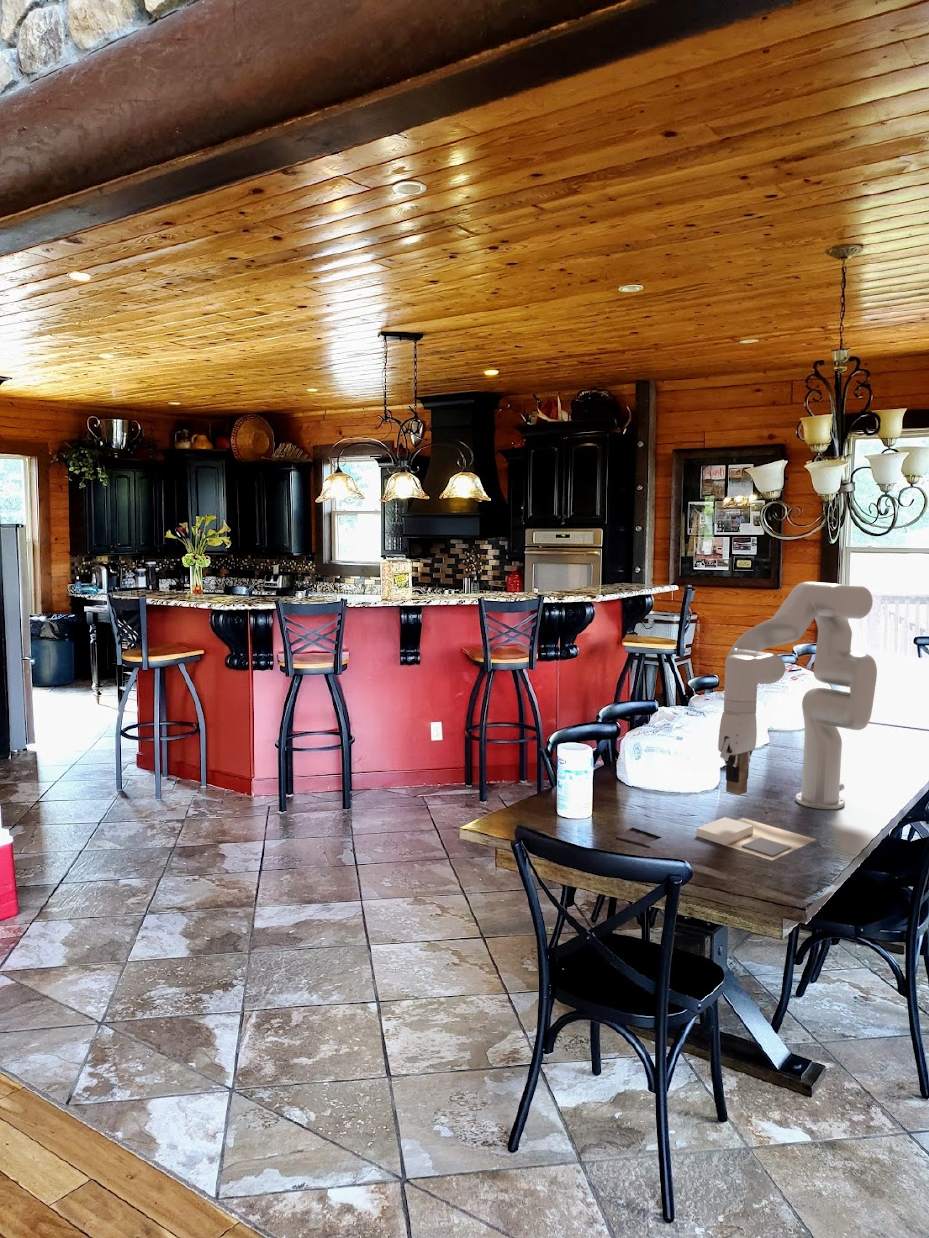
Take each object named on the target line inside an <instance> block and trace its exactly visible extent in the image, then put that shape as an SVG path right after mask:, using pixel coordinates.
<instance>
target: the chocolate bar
mask: <svg viewBox="0 0 929 1238" xmlns="http://www.w3.org/2000/svg"><path fill="white" fill-rule="evenodd" d="M662 838H663V837H662V836H659V835H656V834H653V833H650V832H648V831H645V830H641V829H638V828H636V827H630V828H629V829H627V830H625V831H624V832H621V833H620V834H618V835H617V836H615V840H618V841H623V842H627V843H629V844H633V843H634V845H638V846H641V845H642V847H645V846H646V848H649V847H650V848H651V846H649V845H646V844H648V843H651V842H654V841H657V840H659V839H662Z"/></svg>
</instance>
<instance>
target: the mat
mask: <svg viewBox="0 0 929 1238" xmlns="http://www.w3.org/2000/svg"><path fill="white" fill-rule="evenodd" d="M742 847H743V848H746V849H749V850H752V851H756V852H759V853H762V854H765V855H768V856H771V857H774V856H776V855H778V854H780V853H782V852H785V851H787V850H789V849H791V847H790V846H787V845H784V844H780V843H777V842H774V841H771V840H767V839H764V838H761V837H760V838H758V839H755V840H753V841H751V842H749V843H746V844H744V845H742Z"/></svg>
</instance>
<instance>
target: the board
mask: <svg viewBox="0 0 929 1238" xmlns="http://www.w3.org/2000/svg"><path fill="white" fill-rule="evenodd" d="M735 820H736V819H735ZM736 821H740V822H743V823H746V824H750V825H753V834H751V835H749V836H746V837H744V838H742V839H739V840H737V841H734V842H732V843H730V844H727V845H724V846H726V847H729V848H731V849H735V850H737V851H741V852H743V853H747V854H750V855H753V856H757V857H759V858H762V859H765V860H768V861H775V860H777V859H779V858H781V857H783V856H785V855H787V854H789V853H791V852H792V853H793V852H794V851H795V850H797V849H801V848H802V847H804V846H806V845H809V844H811V843H812V842H814V841H817V839H816V838H813V837H810V836H806V835H802V834H799V833H796V832H792V831H789V830H786V829H783V828H779V827H775V826H772V825H768V824H765V823H762V822H758V821H756V820H755V821H754V820H751V819H748V818H744V817H741V818H738V819H737V820H736ZM760 837H761V838H764V839H767V840H771V841H774V842H777V843H780V844H784V845H787V846H790V847H791V849H789V850H787V851H785V852H782V853H780V854H778V855H776V856H774V857H771V856H768V855H765V854H762V853H759V852H756V851H752V850H749V849H746V848H743V847H742V845H744V844H746V843H749V842H751V841H753V840H755V839H758V838H760Z"/></svg>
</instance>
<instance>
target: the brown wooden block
mask: <svg viewBox="0 0 929 1238" xmlns="http://www.w3.org/2000/svg"><path fill="white" fill-rule="evenodd" d="M730 752H732V750H731V751H730ZM748 752H749V751H747V752H744V753H741V754H739V757H738V765H737V766H738V767H739V781H738V783H734V782H730V781H727V780H726V785H725V786H726V787H725V789H726V790H725V791H726V793H730V794H734V795H737V796H740V795H743V794H746V793H747V792H748V779H747V775H748V776H749V772H748ZM730 757H732V758H733V760H734V756H731V755H730Z"/></svg>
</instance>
